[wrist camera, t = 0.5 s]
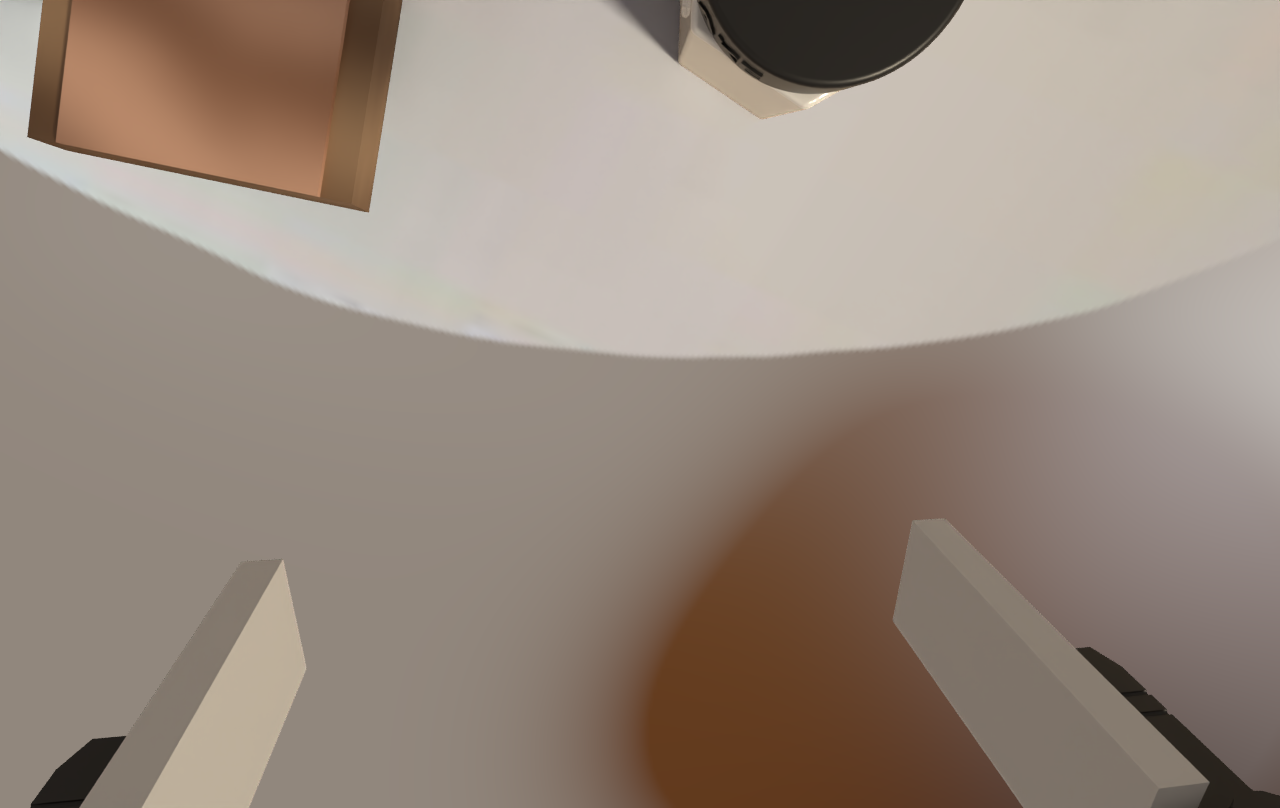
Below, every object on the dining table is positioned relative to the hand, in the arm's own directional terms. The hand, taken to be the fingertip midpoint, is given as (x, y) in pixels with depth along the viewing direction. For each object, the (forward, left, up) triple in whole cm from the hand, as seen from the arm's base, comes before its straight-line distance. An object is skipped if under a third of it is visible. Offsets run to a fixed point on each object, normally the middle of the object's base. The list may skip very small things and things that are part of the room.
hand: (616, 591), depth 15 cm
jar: (-13, -9, -22) cm, 27 cm away
